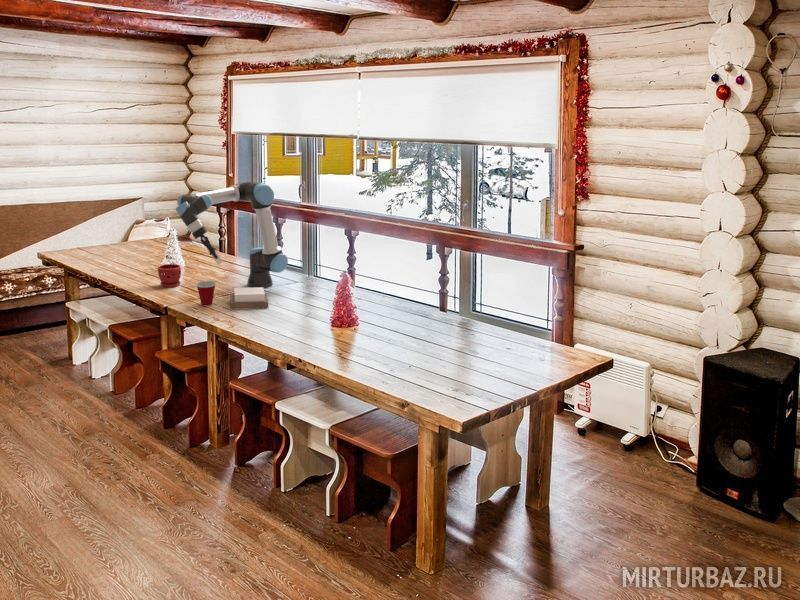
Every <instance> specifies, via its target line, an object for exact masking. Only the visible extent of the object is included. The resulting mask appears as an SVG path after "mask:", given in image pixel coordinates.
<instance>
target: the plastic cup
mask: <svg viewBox="0 0 800 600" xmlns="http://www.w3.org/2000/svg"><path fill="white" fill-rule="evenodd" d="M216 285H217V283H216V282H215V281H211V280H205V281H199V282H197V283H195V286H196V288H197V291H198V296H199V299H200V300H199V301H200V304H202V305H201V306H204V305H209V306H212V305H213V300H214V294H215V293H214V292H215V288H216Z"/></svg>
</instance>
